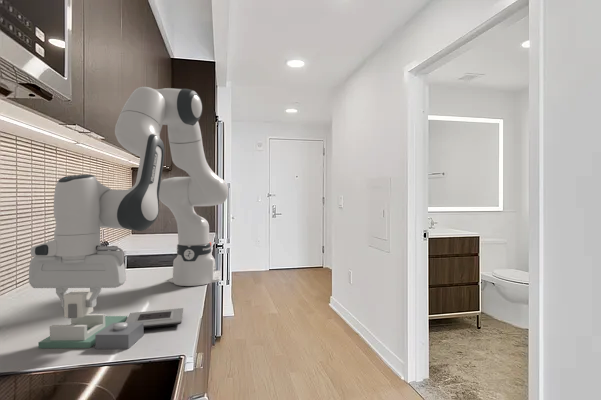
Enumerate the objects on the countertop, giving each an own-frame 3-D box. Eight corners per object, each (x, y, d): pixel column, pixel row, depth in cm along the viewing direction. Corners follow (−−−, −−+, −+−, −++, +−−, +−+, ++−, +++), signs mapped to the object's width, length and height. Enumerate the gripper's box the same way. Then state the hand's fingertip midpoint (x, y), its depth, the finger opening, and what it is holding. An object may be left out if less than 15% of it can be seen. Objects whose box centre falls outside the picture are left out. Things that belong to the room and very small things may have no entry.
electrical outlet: (122, 336, 82) (121, 326, 82) (130, 320, 92) (130, 311, 92) (181, 329, 85) (181, 320, 85) (183, 315, 96) (183, 306, 96)
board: (85, 320, 91) (84, 304, 91) (127, 320, 91) (127, 304, 91) (38, 348, 75) (38, 328, 75) (89, 347, 75) (89, 328, 75)
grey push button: (113, 335, 81) (113, 319, 81) (143, 335, 81) (143, 319, 81) (95, 348, 74) (95, 331, 74) (128, 348, 74) (128, 330, 74)
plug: (76, 311, 82) (75, 290, 82) (93, 311, 82) (92, 289, 82) (62, 318, 77) (62, 295, 77) (80, 318, 77) (80, 295, 77)
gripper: (130, 243, 83) (131, 302, 83) (44, 244, 83) (45, 302, 83) (116, 247, 76) (117, 311, 77) (22, 248, 76) (24, 311, 77)
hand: (79, 306), depth 80 cm, fingers closed on plug, 4 cm apart
